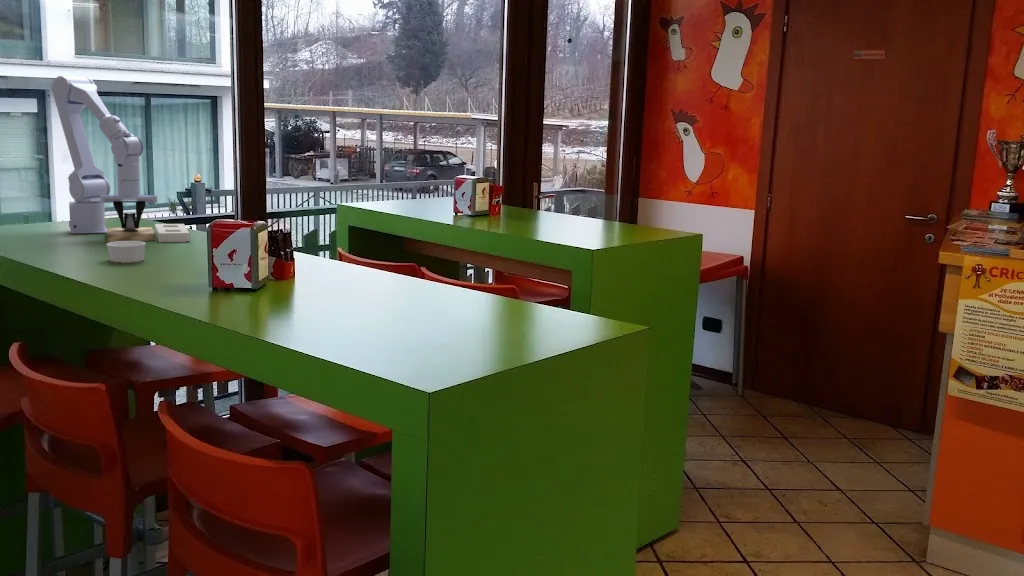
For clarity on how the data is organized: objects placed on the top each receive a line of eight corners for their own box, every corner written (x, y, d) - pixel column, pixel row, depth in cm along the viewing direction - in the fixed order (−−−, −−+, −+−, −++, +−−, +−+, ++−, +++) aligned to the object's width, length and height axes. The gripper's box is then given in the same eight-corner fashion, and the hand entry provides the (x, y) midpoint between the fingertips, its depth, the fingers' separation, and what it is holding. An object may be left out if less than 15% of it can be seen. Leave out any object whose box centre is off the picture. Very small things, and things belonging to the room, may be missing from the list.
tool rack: (159, 242, 252) (158, 233, 251) (155, 232, 268) (155, 224, 267) (189, 241, 255) (189, 233, 254) (183, 232, 271) (183, 223, 270)
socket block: (107, 241, 249) (107, 234, 249) (107, 234, 260) (106, 227, 259) (154, 240, 254) (154, 233, 253) (152, 234, 265) (151, 227, 264)
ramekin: (107, 264, 219) (106, 246, 218) (107, 257, 227) (106, 240, 226) (146, 263, 223) (146, 245, 222) (145, 256, 231) (144, 240, 230)
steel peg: (125, 238, 255) (124, 213, 253) (124, 237, 257) (123, 212, 256) (136, 238, 256) (135, 213, 255) (136, 236, 259) (135, 212, 257)
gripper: (100, 181, 247) (102, 230, 250) (157, 181, 253) (158, 229, 256) (99, 178, 253) (102, 226, 256) (155, 179, 259) (157, 226, 262)
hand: (130, 228), depth 256 cm, fingers open, 3 cm apart
